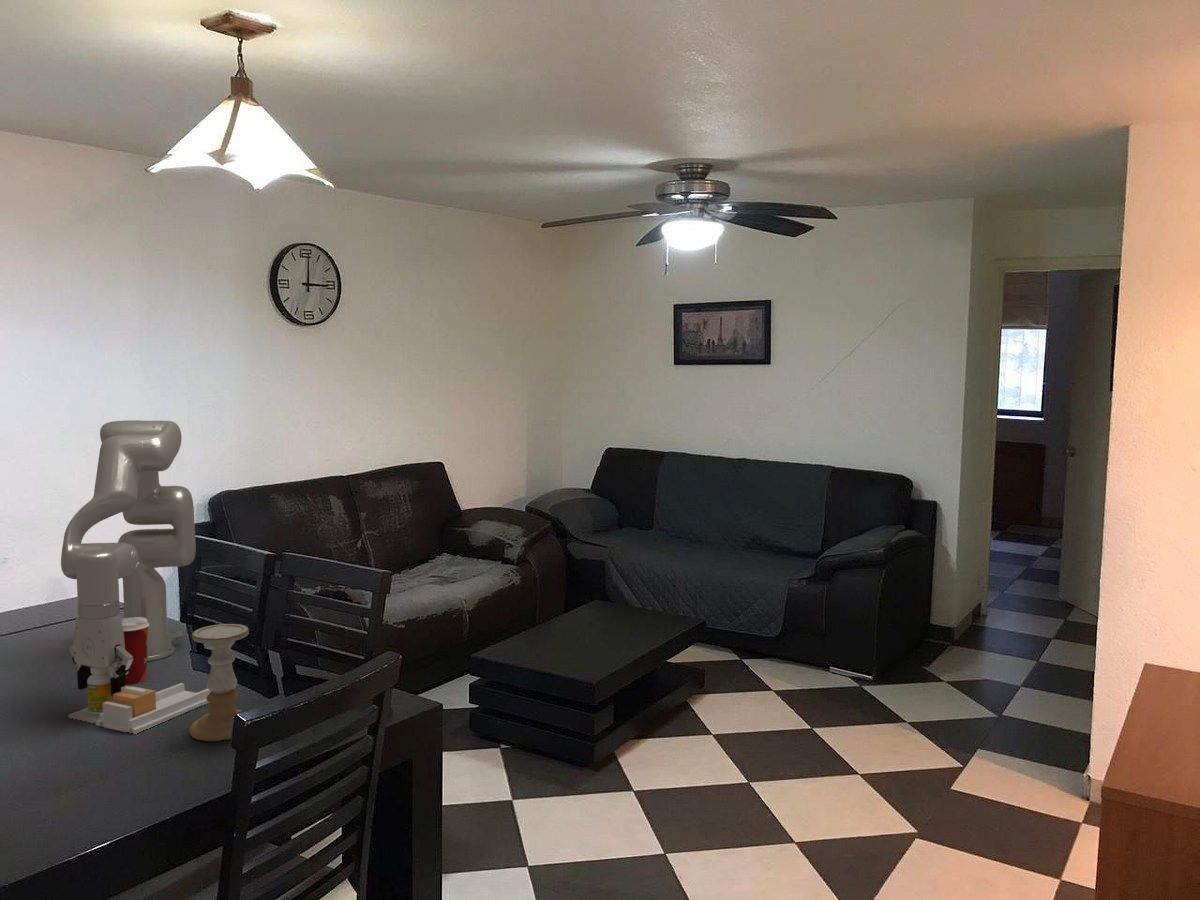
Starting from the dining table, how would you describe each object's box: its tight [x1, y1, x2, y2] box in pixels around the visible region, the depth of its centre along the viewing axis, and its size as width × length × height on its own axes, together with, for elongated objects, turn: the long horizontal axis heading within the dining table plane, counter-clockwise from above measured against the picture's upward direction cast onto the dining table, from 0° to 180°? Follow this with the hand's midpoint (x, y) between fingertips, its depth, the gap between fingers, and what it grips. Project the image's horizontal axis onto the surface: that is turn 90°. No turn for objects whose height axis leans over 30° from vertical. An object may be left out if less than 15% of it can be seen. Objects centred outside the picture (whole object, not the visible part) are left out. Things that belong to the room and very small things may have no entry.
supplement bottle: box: [86, 667, 113, 715], centre depth 190 cm, size 5×5×10 cm
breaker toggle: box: [113, 685, 157, 718], centre depth 185 cm, size 5×6×6 cm
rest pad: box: [67, 707, 100, 725], centre depth 190 cm, size 9×9×1 cm
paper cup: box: [116, 617, 149, 686], centre depth 210 cm, size 8×8×14 cm
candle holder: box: [188, 623, 250, 742], centre depth 181 cm, size 12×12×20 cm
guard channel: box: [95, 682, 211, 735], centre depth 191 cm, size 20×11×5 cm, turn 157°
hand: (102, 691), depth 190 cm, fingers open, 9 cm apart
